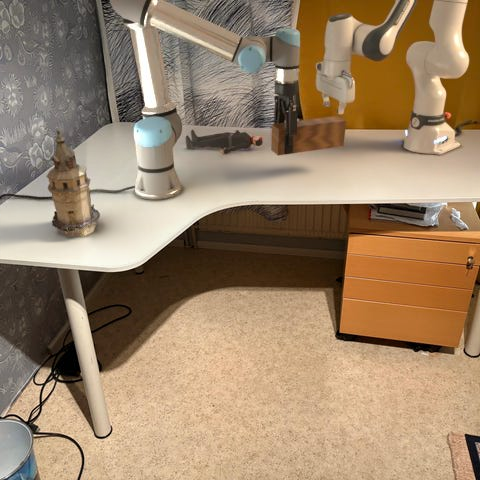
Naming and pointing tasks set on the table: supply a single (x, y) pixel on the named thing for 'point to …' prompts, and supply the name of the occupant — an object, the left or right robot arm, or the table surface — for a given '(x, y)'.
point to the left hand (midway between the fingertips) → (284, 150)
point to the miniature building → (70, 193)
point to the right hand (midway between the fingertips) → (333, 110)
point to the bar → (310, 135)
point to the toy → (224, 141)
